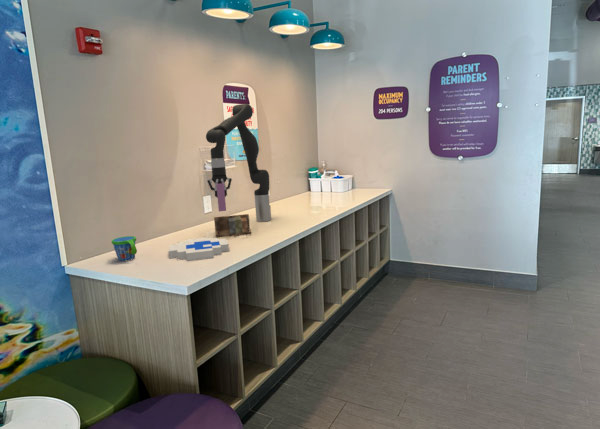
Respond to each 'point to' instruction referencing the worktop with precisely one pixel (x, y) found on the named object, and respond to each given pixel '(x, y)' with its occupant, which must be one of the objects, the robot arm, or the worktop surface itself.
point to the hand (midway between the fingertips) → (221, 196)
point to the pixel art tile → (198, 248)
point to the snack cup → (125, 247)
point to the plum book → (221, 197)
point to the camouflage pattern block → (232, 225)
